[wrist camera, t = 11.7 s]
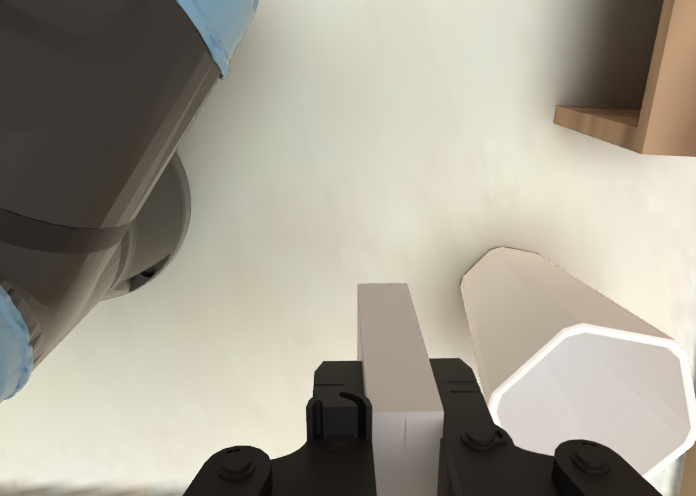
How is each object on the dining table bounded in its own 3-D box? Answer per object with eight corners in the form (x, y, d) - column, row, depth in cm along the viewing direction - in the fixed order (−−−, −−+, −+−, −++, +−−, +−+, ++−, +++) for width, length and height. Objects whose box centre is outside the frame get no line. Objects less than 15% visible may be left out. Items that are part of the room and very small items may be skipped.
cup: (595, 242, 45) (738, 353, 28) (553, 358, 48) (661, 515, 32) (454, 215, 44) (519, 312, 28) (421, 334, 47) (463, 483, 31)
